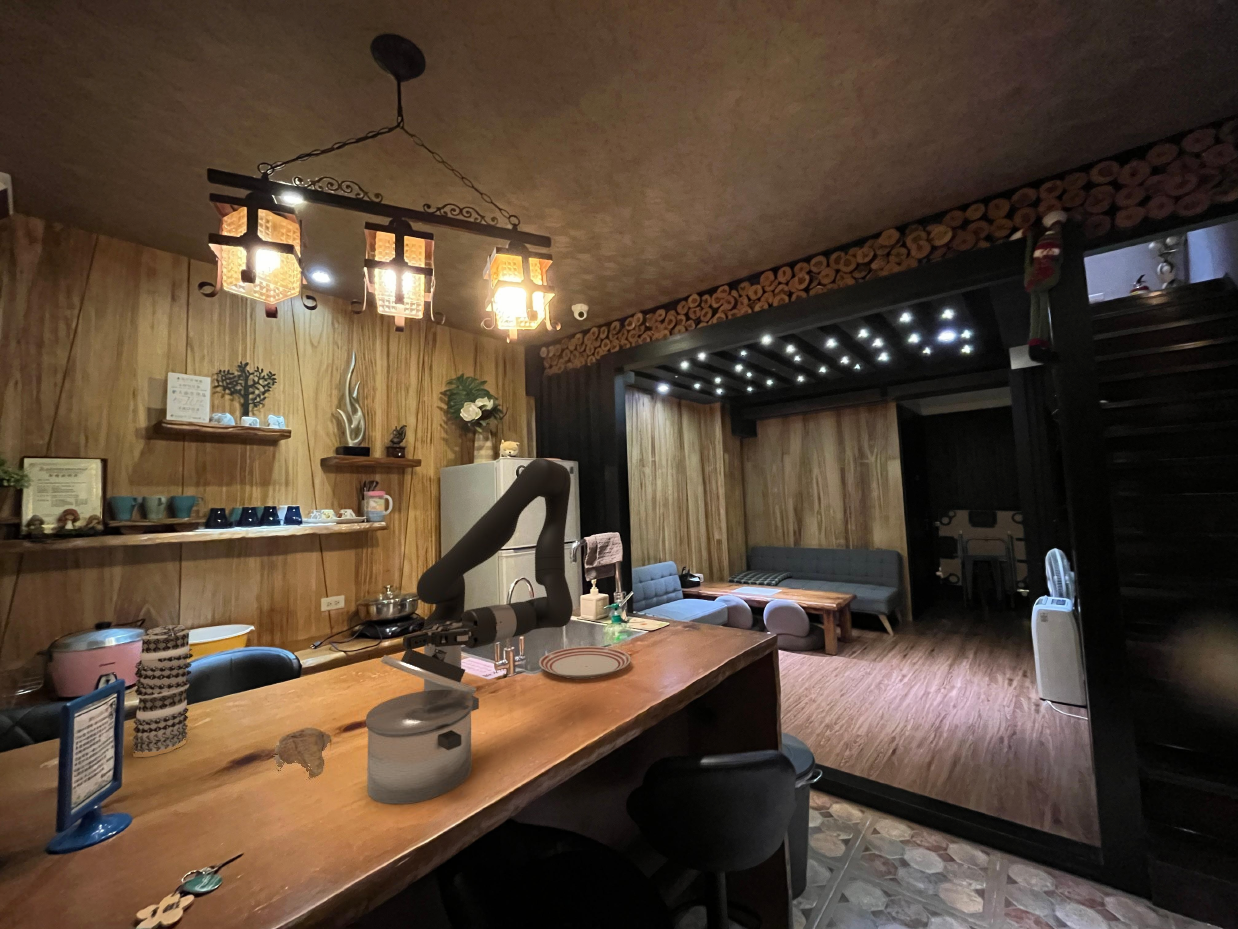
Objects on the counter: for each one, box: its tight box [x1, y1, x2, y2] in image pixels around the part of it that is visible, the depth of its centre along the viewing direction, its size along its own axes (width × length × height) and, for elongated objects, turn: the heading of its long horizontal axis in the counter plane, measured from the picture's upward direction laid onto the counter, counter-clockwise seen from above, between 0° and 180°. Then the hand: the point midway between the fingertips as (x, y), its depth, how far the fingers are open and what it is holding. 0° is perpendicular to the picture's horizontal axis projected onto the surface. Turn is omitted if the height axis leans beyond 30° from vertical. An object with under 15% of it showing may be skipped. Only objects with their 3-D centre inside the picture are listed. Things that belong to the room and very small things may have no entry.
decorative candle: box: [131, 624, 194, 753], centre depth 107 cm, size 9×9×25 cm
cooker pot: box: [365, 690, 480, 805], centre depth 91 cm, size 22×19×12 cm
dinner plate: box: [538, 645, 632, 679], centre depth 150 cm, size 28×27×3 cm
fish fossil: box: [273, 726, 331, 780], centre depth 100 cm, size 26×10×1 cm, turn 40°
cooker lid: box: [380, 648, 477, 696], centre depth 94 cm, size 18×18×5 cm
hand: (404, 643), depth 90 cm, fingers closed
